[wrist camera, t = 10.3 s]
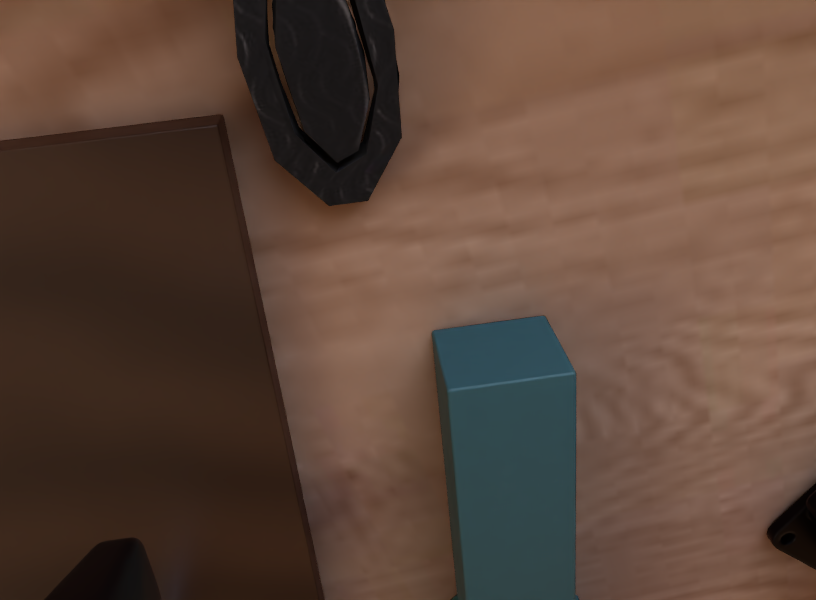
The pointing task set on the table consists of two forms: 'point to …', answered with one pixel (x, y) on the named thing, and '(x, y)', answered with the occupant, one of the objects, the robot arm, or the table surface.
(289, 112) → the hairbrush
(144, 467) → the brown peg board
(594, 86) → the table surface
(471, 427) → the teal ring spanner
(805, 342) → the table surface
